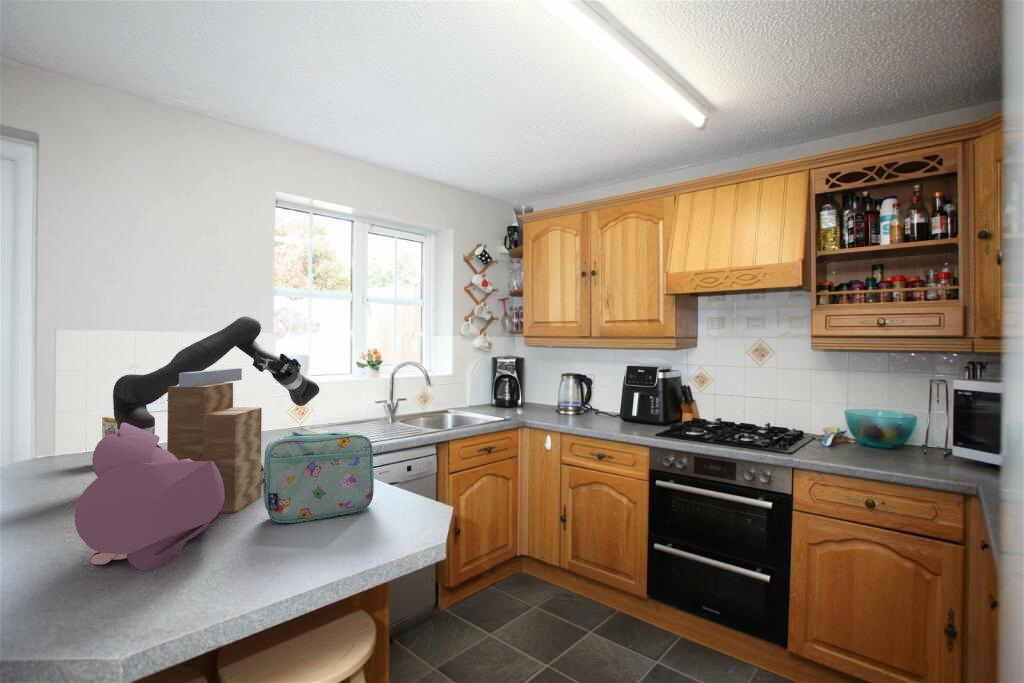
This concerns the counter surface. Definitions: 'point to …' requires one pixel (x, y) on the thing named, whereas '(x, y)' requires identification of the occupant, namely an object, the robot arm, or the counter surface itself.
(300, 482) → the lunch box
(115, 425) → the candy bar box
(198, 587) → the counter surface
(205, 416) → the stand
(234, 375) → the rail
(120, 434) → the mauve lumpy blob
